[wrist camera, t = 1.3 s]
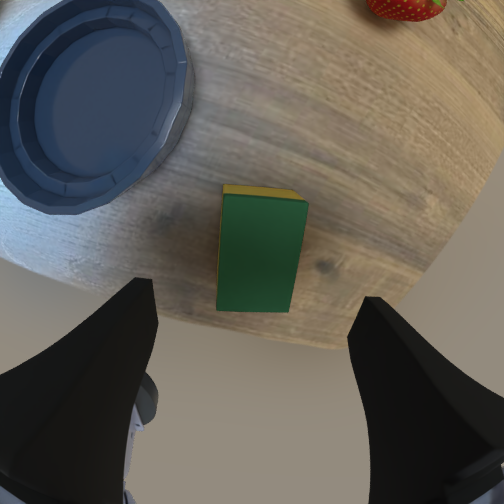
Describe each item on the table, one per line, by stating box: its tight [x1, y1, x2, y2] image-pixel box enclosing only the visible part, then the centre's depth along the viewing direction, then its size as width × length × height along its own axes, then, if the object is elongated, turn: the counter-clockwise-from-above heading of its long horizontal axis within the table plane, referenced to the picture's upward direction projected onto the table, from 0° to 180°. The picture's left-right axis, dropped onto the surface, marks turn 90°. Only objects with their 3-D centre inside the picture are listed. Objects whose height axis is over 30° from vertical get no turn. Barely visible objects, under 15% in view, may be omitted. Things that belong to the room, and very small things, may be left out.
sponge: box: [216, 184, 309, 312], centre depth 17 cm, size 7×4×4 cm, turn 174°
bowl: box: [0, 0, 195, 215], centre depth 12 cm, size 13×13×4 cm
